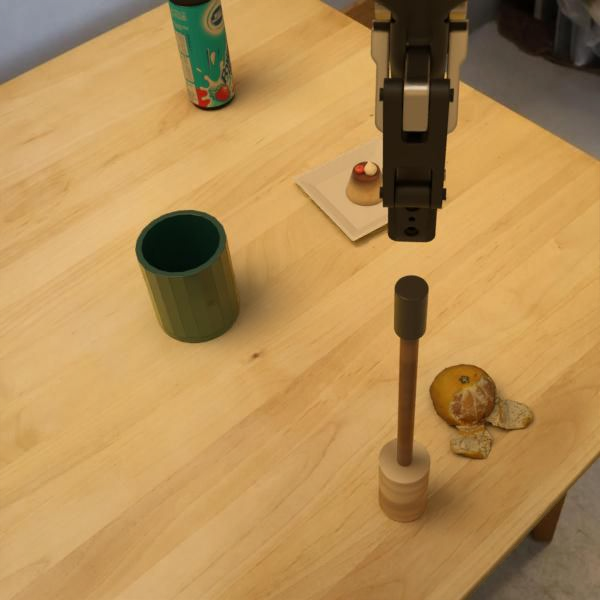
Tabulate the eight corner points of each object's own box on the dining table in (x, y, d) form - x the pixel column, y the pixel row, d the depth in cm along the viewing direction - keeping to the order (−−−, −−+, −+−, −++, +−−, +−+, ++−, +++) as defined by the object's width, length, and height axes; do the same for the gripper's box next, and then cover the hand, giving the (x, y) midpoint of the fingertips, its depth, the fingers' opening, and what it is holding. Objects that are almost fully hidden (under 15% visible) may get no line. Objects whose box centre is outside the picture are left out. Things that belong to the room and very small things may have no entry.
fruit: (468, 470, 73) (471, 449, 70) (405, 404, 77) (406, 382, 75) (538, 418, 76) (544, 396, 73) (473, 357, 80) (476, 334, 77)
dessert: (292, 185, 97) (289, 153, 93) (378, 142, 100) (378, 109, 96) (353, 248, 90) (351, 216, 86) (443, 200, 93) (445, 167, 90)
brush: (410, 531, 70) (423, 325, 48) (369, 505, 72) (364, 295, 50) (435, 494, 72) (459, 279, 50) (395, 469, 73) (400, 252, 52)
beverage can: (221, 116, 105) (201, 8, 94) (180, 105, 107) (156, -2, 96) (244, 88, 108) (227, -20, 97) (204, 78, 110) (183, -29, 99)
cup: (203, 356, 83) (184, 291, 75) (140, 318, 86) (116, 252, 78) (256, 299, 86) (244, 232, 79) (194, 265, 90) (177, 197, 82)
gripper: (338, -238, 35) (350, 85, 48) (299, -57, 26) (326, 280, 39) (525, -245, 34) (487, 86, 47) (549, -60, 25) (494, 286, 38)
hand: (414, 174), depth 43 cm, fingers open, 8 cm apart
